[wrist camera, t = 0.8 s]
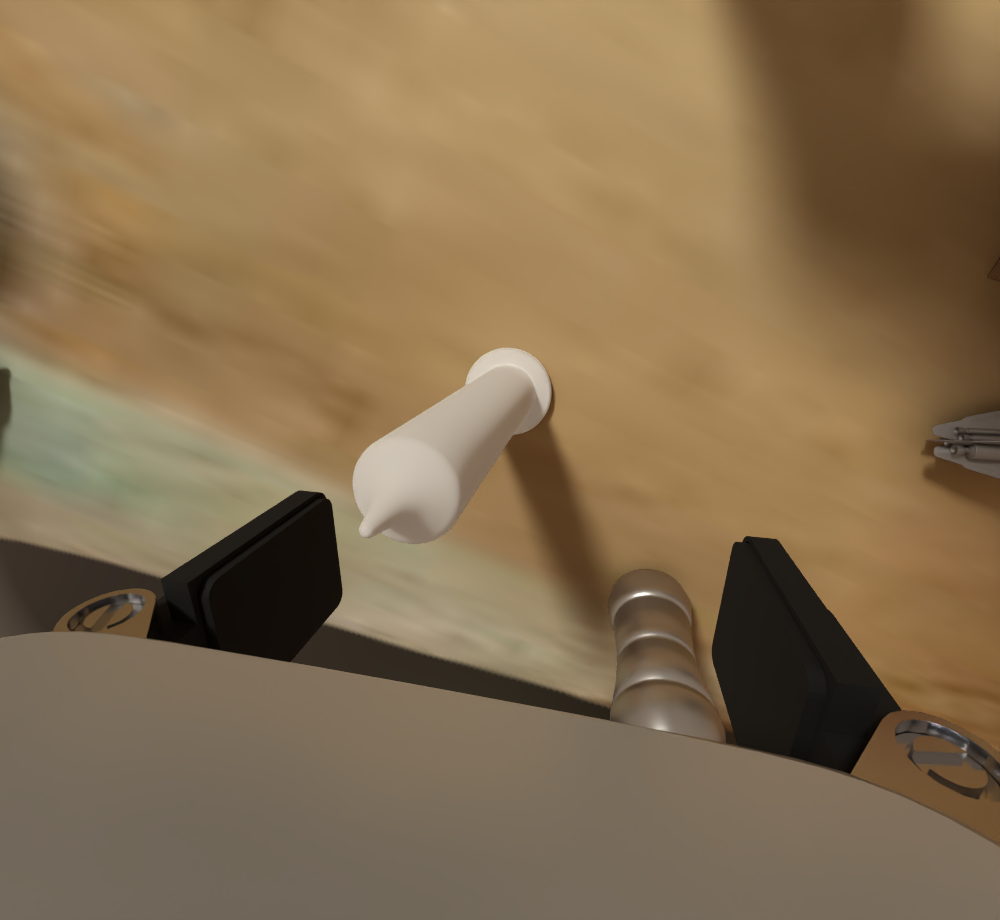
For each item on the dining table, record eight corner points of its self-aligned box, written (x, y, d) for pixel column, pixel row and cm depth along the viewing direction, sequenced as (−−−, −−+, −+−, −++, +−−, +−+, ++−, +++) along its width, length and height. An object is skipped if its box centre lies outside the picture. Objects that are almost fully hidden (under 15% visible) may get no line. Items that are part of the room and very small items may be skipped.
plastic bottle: (675, 629, 42) (735, 890, 23) (600, 612, 43) (599, 848, 24) (694, 568, 40) (776, 803, 21) (614, 551, 41) (625, 762, 22)
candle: (570, 394, 37) (518, 550, 14) (507, 449, 40) (375, 658, 16) (510, 328, 36) (350, 376, 13) (450, 388, 39) (228, 517, 16)
